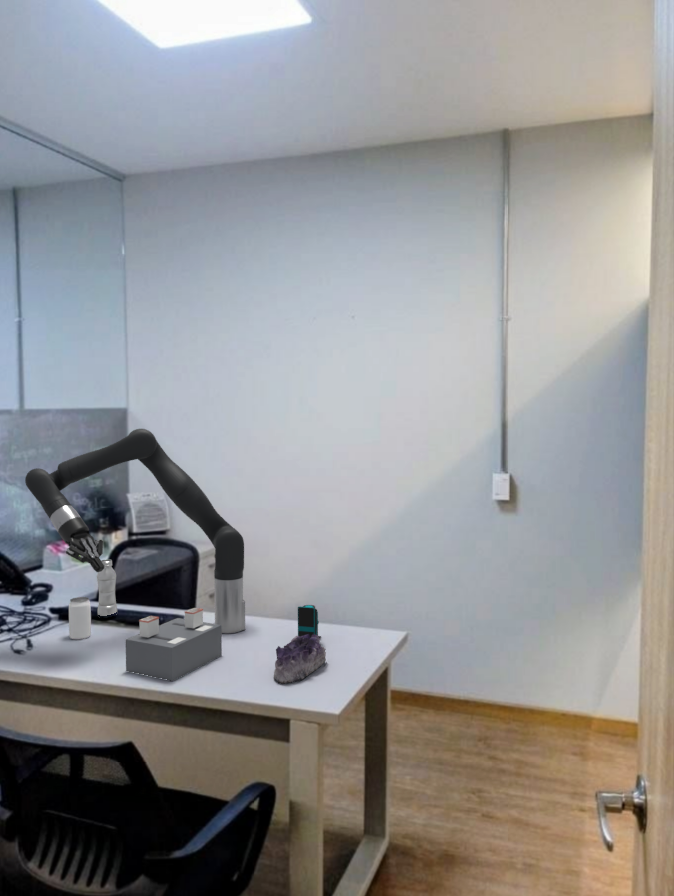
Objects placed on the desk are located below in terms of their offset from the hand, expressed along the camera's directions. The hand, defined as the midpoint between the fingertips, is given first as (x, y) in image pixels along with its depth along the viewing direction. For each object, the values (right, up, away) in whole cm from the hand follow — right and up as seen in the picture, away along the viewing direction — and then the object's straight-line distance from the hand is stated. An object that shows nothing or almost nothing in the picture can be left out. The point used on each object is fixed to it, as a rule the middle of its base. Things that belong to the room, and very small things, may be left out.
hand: (101, 570), depth 201 cm
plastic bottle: (-12, -24, +41) cm, 49 cm away
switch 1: (+16, -17, -7) cm, 24 cm away
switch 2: (+26, -17, +1) cm, 31 cm away
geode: (+57, -26, -9) cm, 64 cm away
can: (-14, -25, +21) cm, 35 cm away
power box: (+22, -26, -3) cm, 34 cm away
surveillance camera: (+60, -25, +16) cm, 67 cm away
